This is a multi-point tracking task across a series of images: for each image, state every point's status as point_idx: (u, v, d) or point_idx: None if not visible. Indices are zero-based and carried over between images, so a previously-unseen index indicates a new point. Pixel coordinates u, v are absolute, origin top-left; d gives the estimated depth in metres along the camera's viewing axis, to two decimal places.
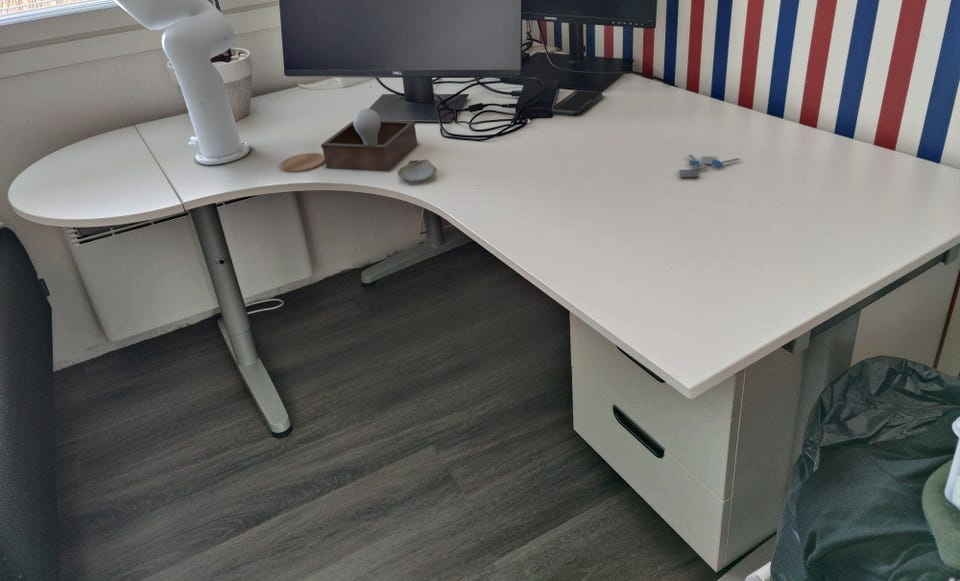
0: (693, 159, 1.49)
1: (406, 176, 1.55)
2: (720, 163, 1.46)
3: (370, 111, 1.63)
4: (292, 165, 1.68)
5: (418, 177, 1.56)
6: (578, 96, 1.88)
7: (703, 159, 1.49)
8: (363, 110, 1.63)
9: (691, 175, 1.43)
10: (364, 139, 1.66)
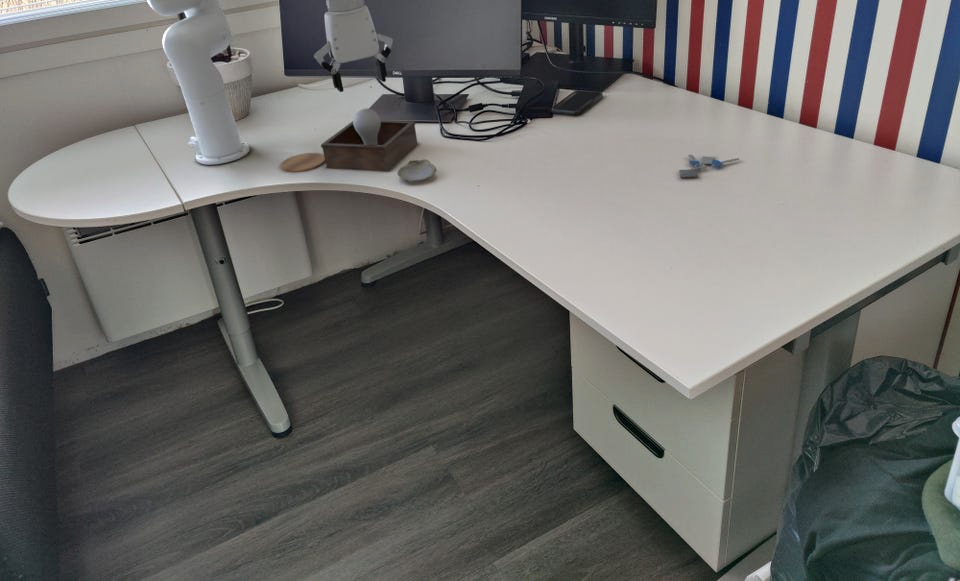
0: (693, 159, 1.49)
1: (406, 176, 1.55)
2: (720, 163, 1.46)
3: (370, 111, 1.63)
4: (292, 165, 1.68)
5: (418, 177, 1.56)
6: (578, 96, 1.88)
7: (703, 159, 1.49)
8: (363, 110, 1.63)
9: (691, 175, 1.43)
10: (364, 139, 1.66)
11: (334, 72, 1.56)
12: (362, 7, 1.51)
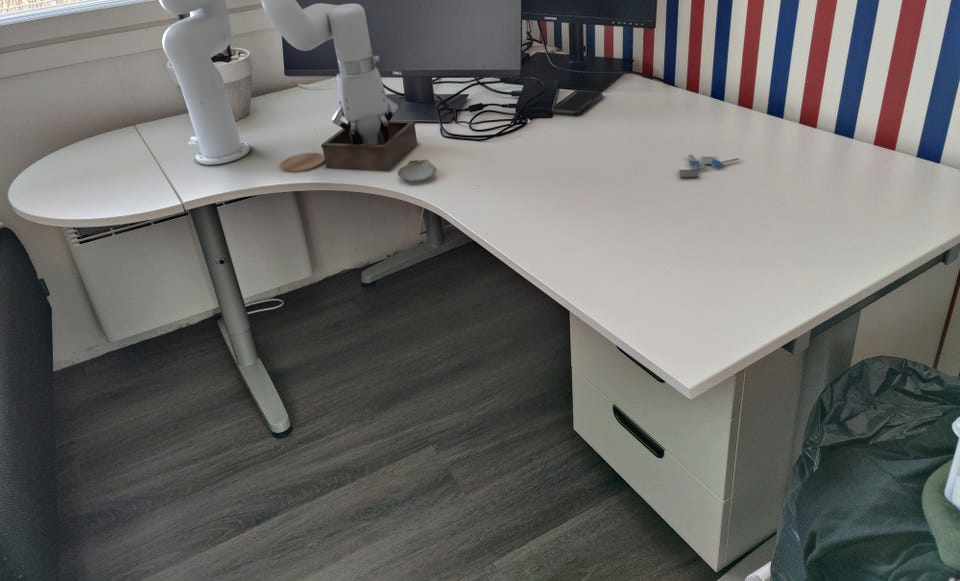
0: (693, 159, 1.49)
1: (406, 176, 1.55)
2: (720, 163, 1.46)
3: None
4: (292, 165, 1.68)
5: (418, 177, 1.56)
6: (578, 96, 1.88)
7: (703, 159, 1.49)
8: None
9: (691, 175, 1.43)
10: (364, 139, 1.66)
11: (352, 132, 1.64)
12: (373, 70, 1.58)
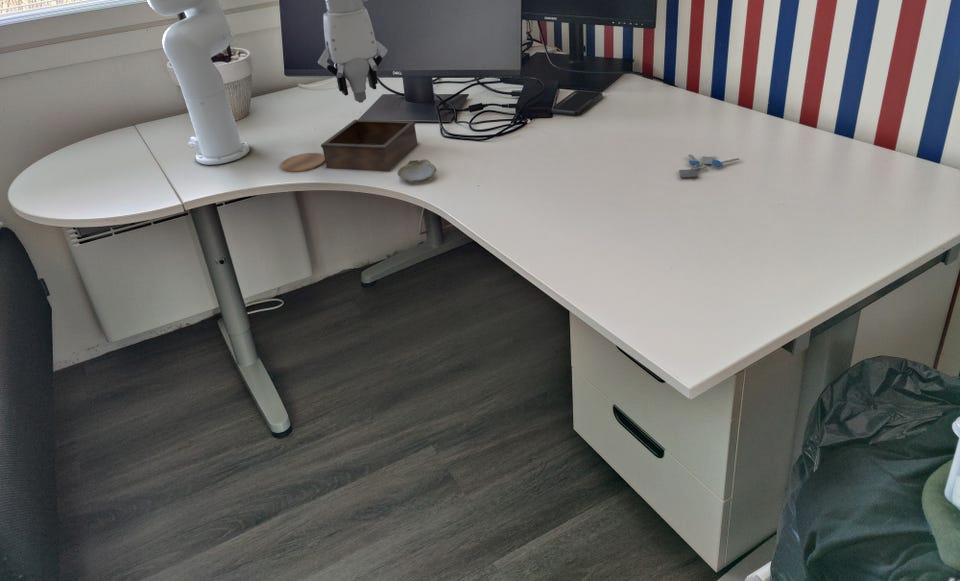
0: (693, 159, 1.49)
1: (406, 176, 1.55)
2: (720, 163, 1.46)
3: None
4: (292, 165, 1.68)
5: (418, 177, 1.56)
6: (578, 96, 1.88)
7: (703, 159, 1.49)
8: None
9: (691, 175, 1.43)
10: (352, 84, 1.59)
11: (339, 76, 1.57)
12: (361, 9, 1.51)
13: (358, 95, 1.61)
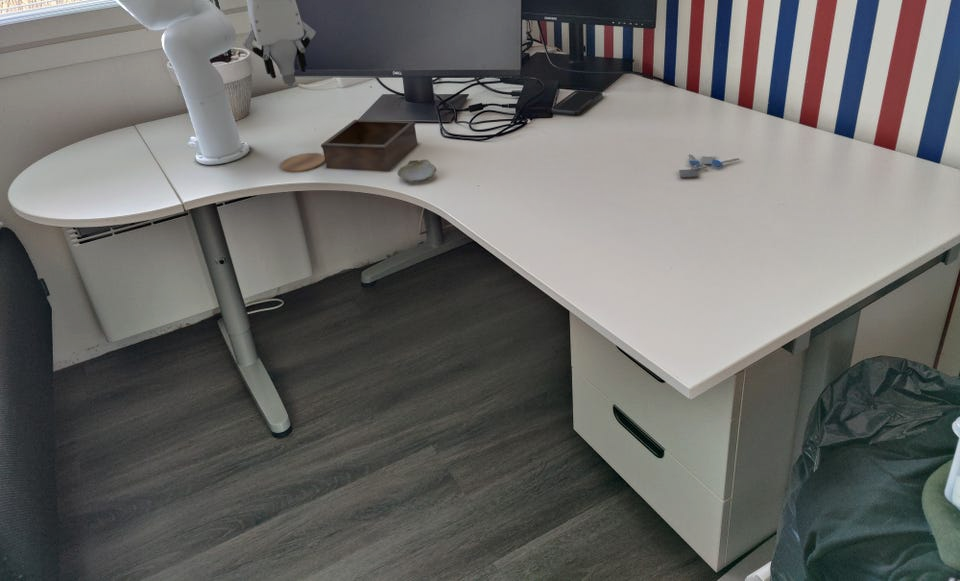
0: (693, 159, 1.49)
1: (406, 176, 1.55)
2: (720, 163, 1.46)
3: None
4: (292, 165, 1.68)
5: (418, 177, 1.56)
6: (578, 96, 1.88)
7: (703, 159, 1.49)
8: None
9: (691, 175, 1.43)
10: (279, 66, 1.57)
11: (266, 58, 1.55)
12: None
13: (287, 78, 1.58)
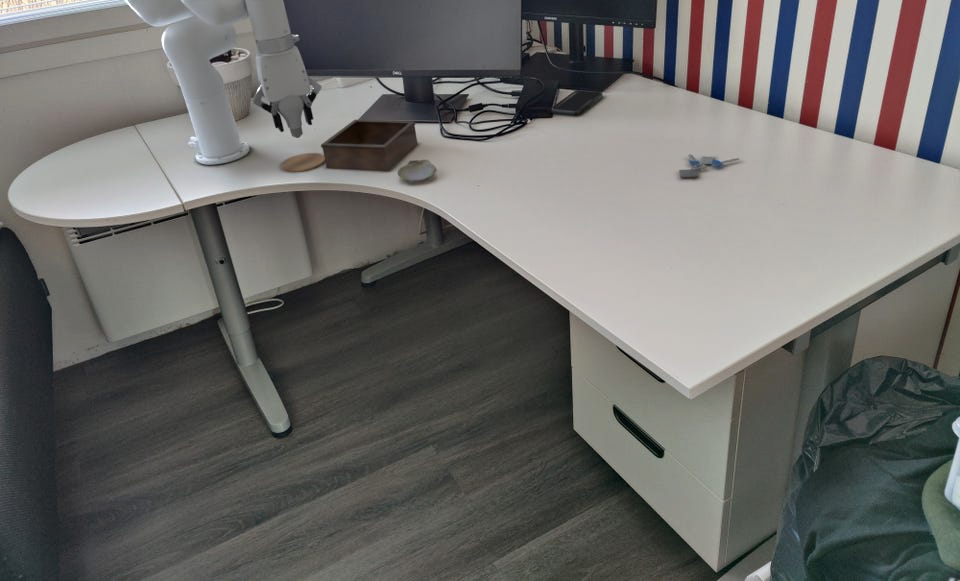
0: (693, 159, 1.49)
1: (406, 176, 1.55)
2: (720, 163, 1.46)
3: None
4: (292, 165, 1.68)
5: (418, 177, 1.56)
6: (578, 96, 1.88)
7: (703, 159, 1.49)
8: None
9: (691, 175, 1.43)
10: (287, 120, 1.63)
11: (274, 113, 1.61)
12: (291, 49, 1.55)
13: (294, 131, 1.64)
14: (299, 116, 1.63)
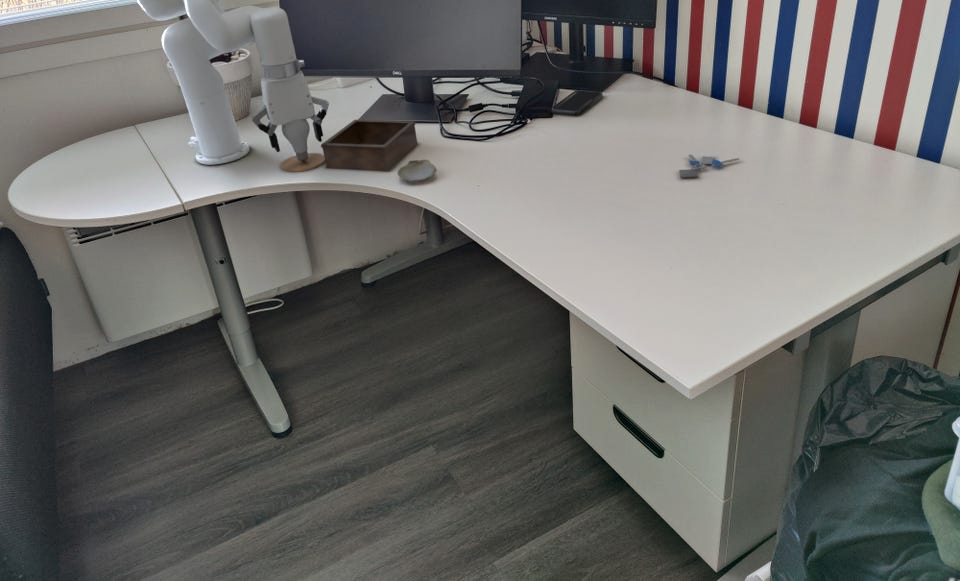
0: (693, 159, 1.49)
1: (406, 176, 1.55)
2: (720, 163, 1.46)
3: None
4: (292, 165, 1.68)
5: (418, 177, 1.56)
6: (578, 96, 1.88)
7: (703, 159, 1.49)
8: None
9: (691, 175, 1.43)
10: (293, 145, 1.66)
11: (270, 134, 1.63)
12: (297, 74, 1.58)
13: (300, 155, 1.68)
14: (305, 141, 1.66)
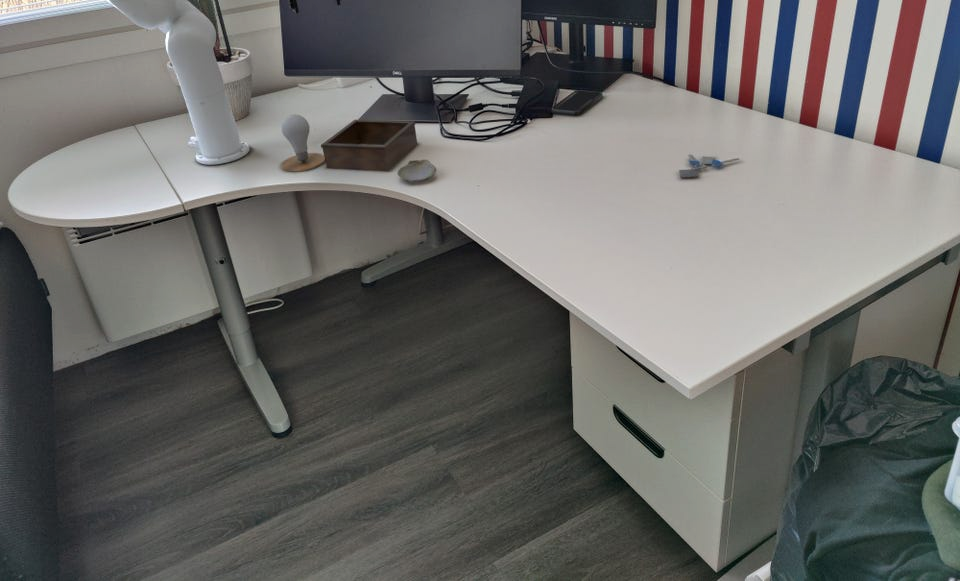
0: (693, 159, 1.49)
1: (406, 176, 1.55)
2: (720, 163, 1.46)
3: (298, 117, 1.63)
4: (292, 165, 1.68)
5: (418, 177, 1.56)
6: (578, 96, 1.88)
7: (703, 159, 1.49)
8: (291, 116, 1.63)
9: (691, 175, 1.43)
10: (293, 145, 1.66)
11: None
12: None
13: (300, 155, 1.68)
14: (305, 141, 1.66)
